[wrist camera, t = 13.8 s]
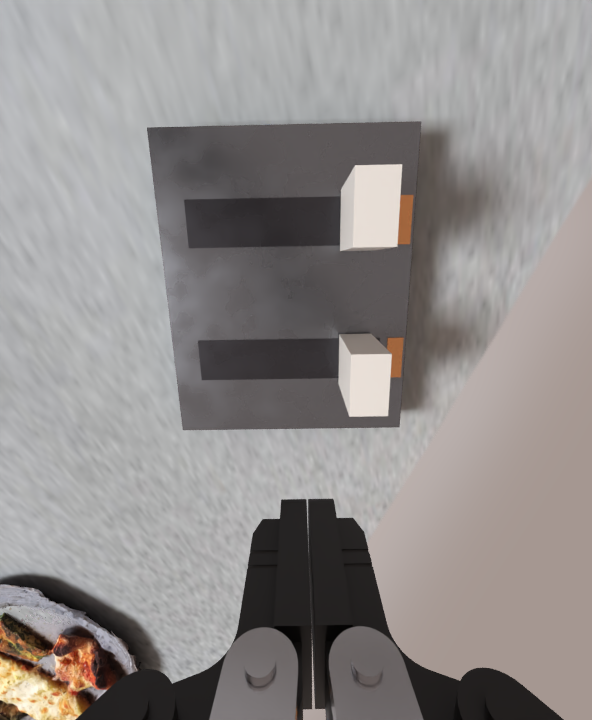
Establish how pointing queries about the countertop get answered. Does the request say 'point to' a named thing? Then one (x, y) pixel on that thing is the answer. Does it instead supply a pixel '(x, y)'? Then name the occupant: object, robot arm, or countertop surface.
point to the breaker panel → (276, 269)
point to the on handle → (370, 208)
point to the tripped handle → (364, 375)
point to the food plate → (55, 660)
